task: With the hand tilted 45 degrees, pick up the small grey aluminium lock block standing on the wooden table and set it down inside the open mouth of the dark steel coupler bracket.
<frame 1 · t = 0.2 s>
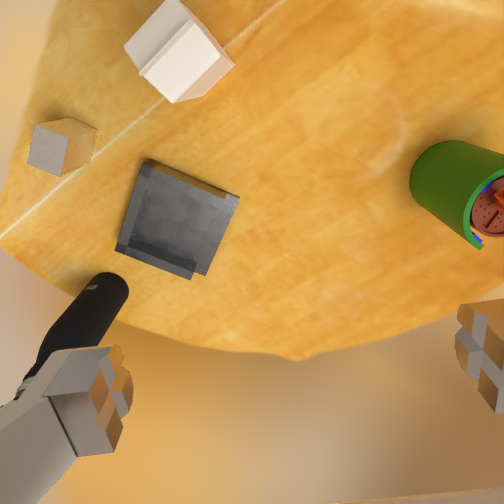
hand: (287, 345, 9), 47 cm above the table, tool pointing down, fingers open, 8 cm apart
lock block: (80, 140, 54), on the table
milk: (203, 62, 49), on the table
green pencil holder: (441, 174, 55), on the table
coupler bracket: (179, 219, 58), on the table
black water bottle: (110, 288, 64), on the table
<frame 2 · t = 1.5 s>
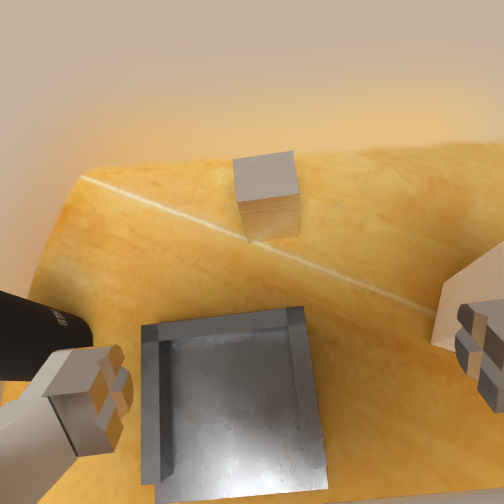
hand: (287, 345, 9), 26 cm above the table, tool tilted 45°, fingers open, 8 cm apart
lock block: (271, 221, 39), on the table
milk: (469, 323, 34), on the table
coupler bracket: (234, 402, 34), on the table
black water bottle: (62, 347, 37), on the table
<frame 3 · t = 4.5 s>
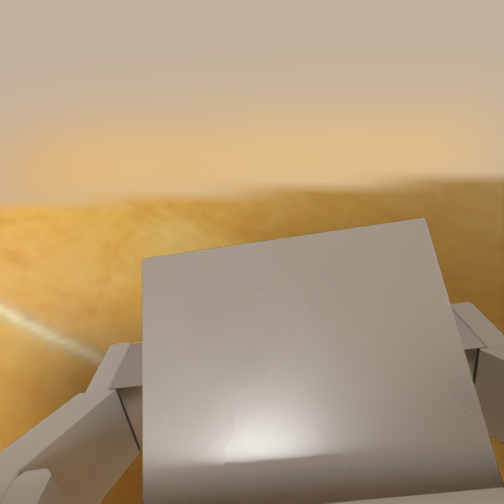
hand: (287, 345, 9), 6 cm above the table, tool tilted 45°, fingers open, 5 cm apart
lock block: (300, 374, 14), on the table, touching gripper
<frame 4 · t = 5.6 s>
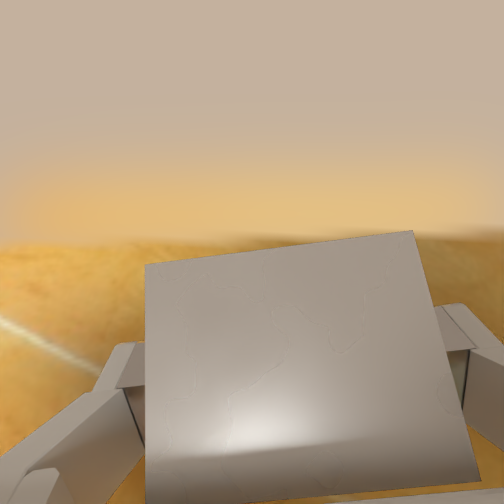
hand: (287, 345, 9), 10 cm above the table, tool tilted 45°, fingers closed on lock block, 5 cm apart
lock block: (290, 377, 15), point 4 cm above the table, touching gripper
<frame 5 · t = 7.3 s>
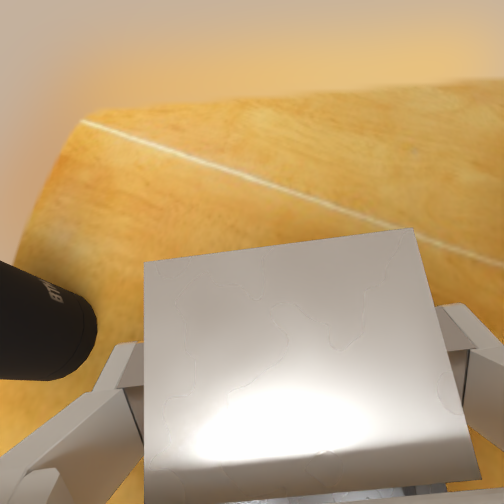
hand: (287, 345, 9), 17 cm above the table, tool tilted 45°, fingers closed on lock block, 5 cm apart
lock block: (290, 375, 15), point 11 cm above the table, touching gripper
coupler bracket: (293, 408, 24), on the table
black water bottle: (56, 335, 28), on the table
when the fingers open (8 cm above the table, at t = 9.3 s): lock block stays where it is, resting on coupler bracket.
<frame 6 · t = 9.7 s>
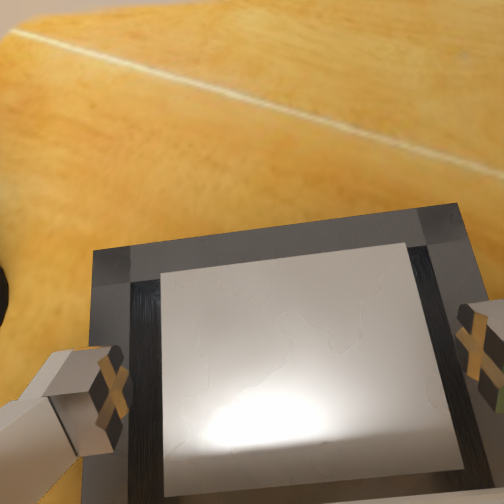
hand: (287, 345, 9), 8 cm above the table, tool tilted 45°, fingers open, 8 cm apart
lock block: (292, 376, 15), point 1 cm above the table, touching coupler bracket
coupler bracket: (295, 418, 16), on the table
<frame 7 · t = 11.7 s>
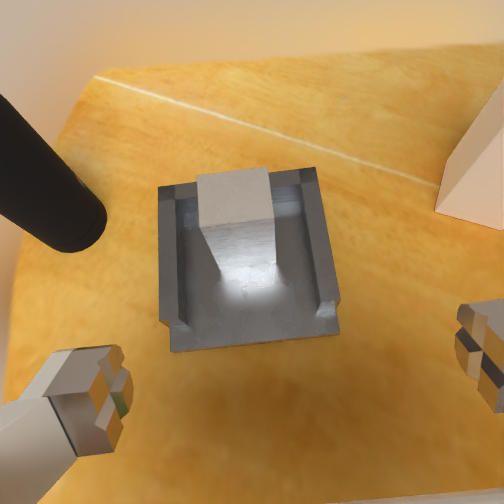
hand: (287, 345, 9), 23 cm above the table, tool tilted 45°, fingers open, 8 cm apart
lock block: (245, 245, 34), point 1 cm above the table, touching coupler bracket
milk: (471, 195, 36), on the table
coupler bracket: (247, 266, 35), on the table
black water bottle: (76, 224, 38), on the table
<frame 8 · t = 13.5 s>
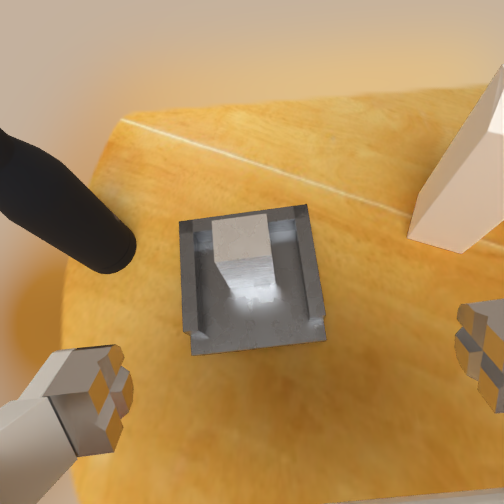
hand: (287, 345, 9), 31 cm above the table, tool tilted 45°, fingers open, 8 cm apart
lock block: (250, 268, 42), point 1 cm above the table, touching coupler bracket
milk: (438, 223, 43), on the table
coupler bracket: (252, 284, 42), on the table
black water bottle: (111, 249, 46), on the table
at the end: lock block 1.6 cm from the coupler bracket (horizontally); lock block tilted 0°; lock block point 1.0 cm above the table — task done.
